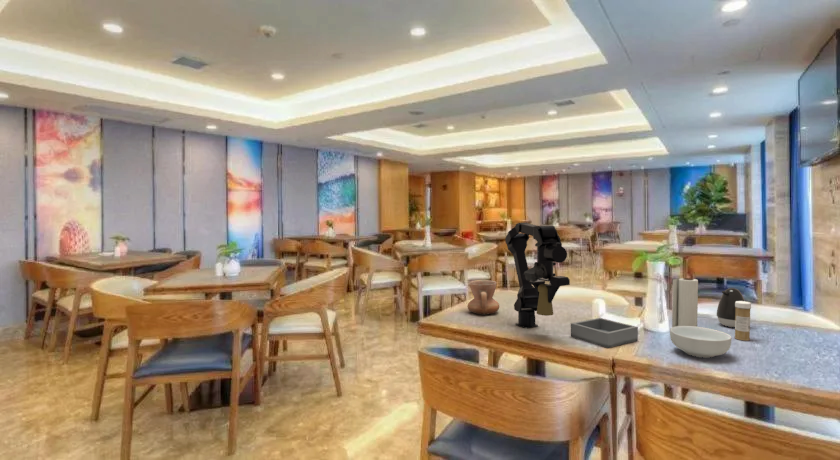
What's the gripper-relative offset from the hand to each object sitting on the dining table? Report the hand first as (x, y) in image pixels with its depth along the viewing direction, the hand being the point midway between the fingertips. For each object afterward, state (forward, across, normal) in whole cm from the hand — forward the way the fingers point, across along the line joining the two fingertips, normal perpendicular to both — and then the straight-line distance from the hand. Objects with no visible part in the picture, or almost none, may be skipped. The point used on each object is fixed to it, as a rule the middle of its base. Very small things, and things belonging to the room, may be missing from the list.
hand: (545, 301), depth 164 cm
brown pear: (+5, 0, 0) cm, 5 cm away
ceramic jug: (+13, -42, +3) cm, 44 cm away
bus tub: (+13, +13, +16) cm, 24 cm away
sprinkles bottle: (+13, +39, +57) cm, 70 cm away
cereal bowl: (+13, +40, +28) cm, 51 cm away
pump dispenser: (+13, +28, +73) cm, 79 cm away
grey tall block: (+13, +27, +43) cm, 52 cm away
